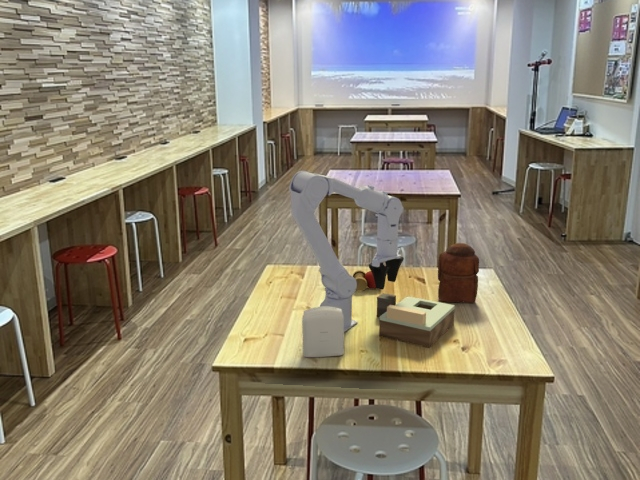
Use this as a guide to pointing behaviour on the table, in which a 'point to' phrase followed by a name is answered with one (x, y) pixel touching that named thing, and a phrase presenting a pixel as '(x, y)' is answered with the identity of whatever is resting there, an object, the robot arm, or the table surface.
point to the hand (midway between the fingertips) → (385, 284)
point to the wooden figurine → (458, 274)
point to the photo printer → (323, 332)
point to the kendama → (364, 280)
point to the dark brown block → (384, 303)
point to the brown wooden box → (416, 331)
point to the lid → (417, 313)
